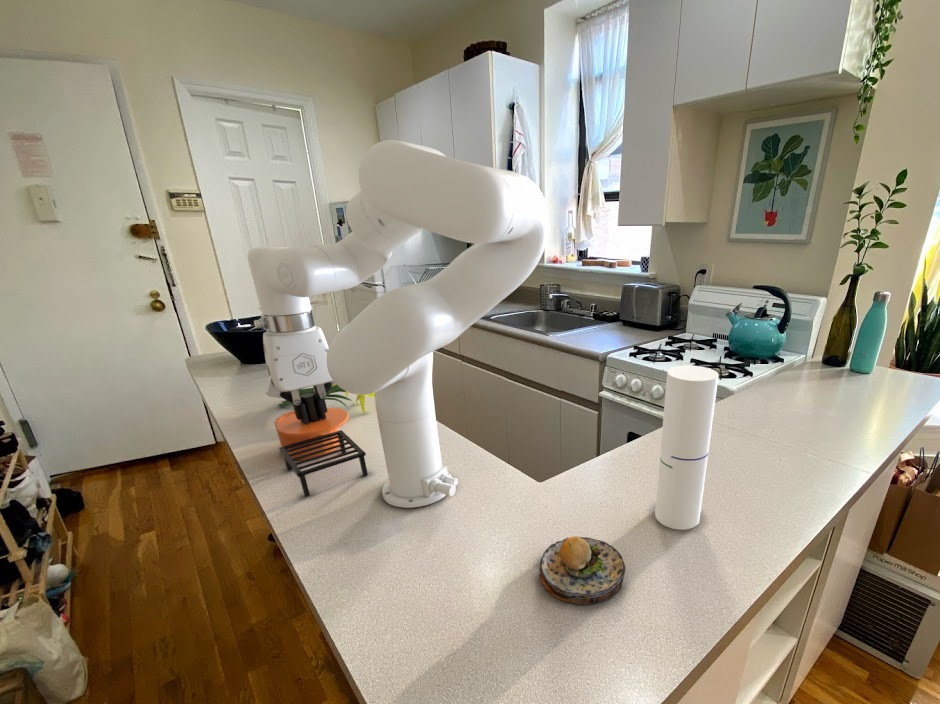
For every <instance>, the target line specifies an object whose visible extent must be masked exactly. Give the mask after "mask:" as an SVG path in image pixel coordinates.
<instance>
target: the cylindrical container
mask: <svg viewBox="0 0 940 704" xmlns="http://www.w3.org/2000/svg"><path fill="white" fill-rule="evenodd" d="M718 383H719V372H717V371H716V370H714V369H712V368H710V367H706V366H701V365H700V366H698V365H689V364H687V365H676V366H672V367H670V368H668V369H667V371H666V381H665V391H664V392H665V393H664V404H663V405H664V406H663V417H662V428H661V429H662V430H661V439H660V440H661V441H660V454H659V464H658V475H657V485H656V487H657V488H656V497H655V499H656V500H655V511H654V516H655V518H656V520H657V521H658V523H659V524H661V525H663V526H665V527H667V528H669V529H673V530H677V531H678V530H679V531H685V530H690V529H693V528H695V527H696V526H698V524H699V523H700V518H701V512H702V511H701V510H702V505H703V504H702V503H703V498H704V497H703V495H704V489H705V483H706V482H705V480H706V473H707V466H708V459H709V453H710V443H711V435H712V429H713V428H712V427H713V420H714V413H715V406H716V399H717V398H716V397H717V391H718Z"/></svg>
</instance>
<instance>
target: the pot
mask: <svg viewBox="0 0 940 704" xmlns="http://www.w3.org/2000/svg"><path fill="white" fill-rule="evenodd" d="M292 414H295V411H294V410H291V411H288V412H286V413H283V414H282V415H280V416H279V417H277V418H276V419H275V421H274V426H275V429H276V433H277V436H278V437H277V438H278V440H279V444H280V447H283V446H286V445H290V444H293V443H297V442H301V441H304V440H308V439H311V438H315V437H318V436H322V435H325V434H329V433H333V432H336V431H339V429H338V428H336V429H334V430H331V431H329V432H325V433H322V434H317V435H312V436H304V437H291V436H285V435H282V434H280V433H279V432H278V430H277V424H278V423H279V422H280V421H281V420H282V419H284V418H286V417H288V416H290V415H292ZM336 436H337V435H336ZM333 437H334V436H333ZM329 438H331V437H329ZM326 439H327V438H326ZM322 440H324V439H322ZM336 440H338V438H336V439H332V440H329V441H325V442H322V443H319V444H315V445H312V446H308V447H305V448H301V449H298V450H294V451H291V452H288V454H292V453H295V452H299V451H302V450H305V449H309V448H312V447H316V446H319V445H323V444H326V443H329V442H333V441H336ZM319 441H320V440H319ZM315 442H317V441H315ZM312 443H313V442H312ZM308 444H310V443H308ZM305 445H306V444H305ZM336 445H339V442H338V443H335V444H331V445H328V446H325V447H321V448H318V449H314V450H311V451H308V452H304V453H301V454H297V455H294V456H291V458H295V457H299V456H302V455H305V454H309V453H312V452H315V451H319V450H322V449H326V448H329V447H332V446H336ZM301 446H303V445H301ZM298 447H299V446H298ZM294 448H296V447H294ZM291 449H292V448H291ZM287 450H289V449H287ZM336 450H338V448H334V449H331V450H328V451H324V452H321V453H318V454H314V455H311V456H308V457H304V458H301V459H298V460H297V461H303V460H306V459H309V458H313V457H316V456H319V455H322V454H326V453H329V452H332V451H336Z"/></svg>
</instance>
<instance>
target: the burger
mask: <svg viewBox="0 0 940 704" xmlns="http://www.w3.org/2000/svg"><path fill="white" fill-rule="evenodd" d="M538 570H539V578H540V581H541V584H542V585H543V586H544V587H545V590H546V591H547V592H548V593H549V594H550V595H552V596H553V597H555V598H557V599H558V600H561V601H564V602H567V603H571V604H577V605H594V604H596V603H597V604H598V603H601V602H604V601H607V600H609V599H611V598H612V597H613V596H615V595H616V594H617V592H619V591H620V590H621V589H622V585H623V582H624V577H625V574H626V564H625V561H624V559H623V556H622V555H621V553H620V552H619V551H618V550H617V549H616V548H615V547H614V546H612V545H611V544H609V543H608V542H606V541H603V540H600V539H595V538H591V537H588V536H587V537H585V536H584V537H582V536H570V537H566V538H564V539H563V540H557V541H556V542H554V543H552V544H551V545H549V546H548V548H547V549H546V550H545V551H544V552H543V555H542V556H541V558H540V561H539V569H538Z"/></svg>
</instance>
